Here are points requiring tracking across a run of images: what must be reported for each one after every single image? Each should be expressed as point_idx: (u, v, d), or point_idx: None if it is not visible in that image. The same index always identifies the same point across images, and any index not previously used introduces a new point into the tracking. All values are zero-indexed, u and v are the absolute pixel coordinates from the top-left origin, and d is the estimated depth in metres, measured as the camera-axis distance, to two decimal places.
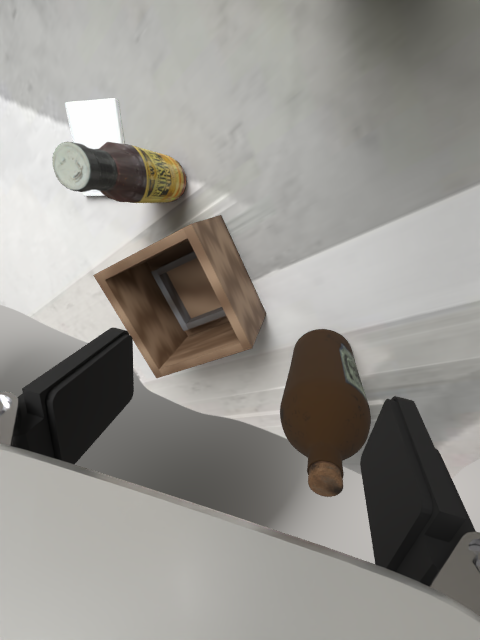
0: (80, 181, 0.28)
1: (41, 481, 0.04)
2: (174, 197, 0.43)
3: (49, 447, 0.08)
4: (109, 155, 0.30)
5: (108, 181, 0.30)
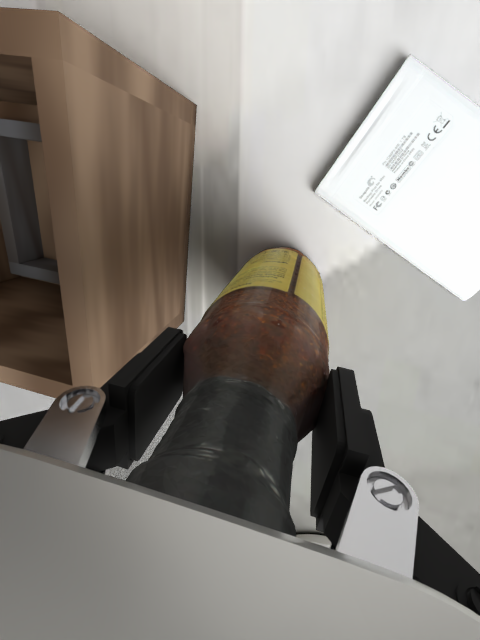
0: None
1: (41, 481, 0.04)
2: None
3: (126, 438, 0.09)
4: None
5: None
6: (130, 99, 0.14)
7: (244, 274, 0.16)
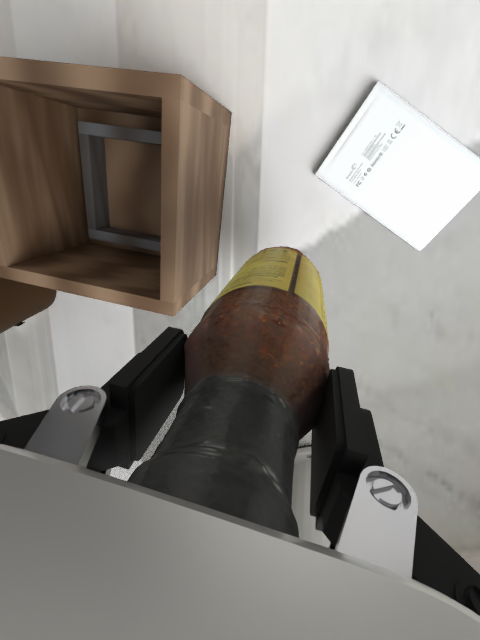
0: None
1: (41, 481, 0.04)
2: None
3: (127, 438, 0.09)
4: None
5: None
6: (202, 115, 0.22)
7: (244, 273, 0.16)
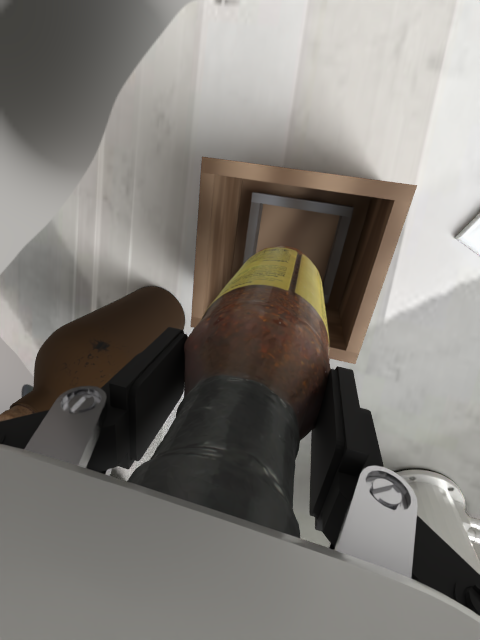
0: None
1: (41, 481, 0.04)
2: None
3: (127, 437, 0.09)
4: None
5: None
6: None
7: (244, 273, 0.16)
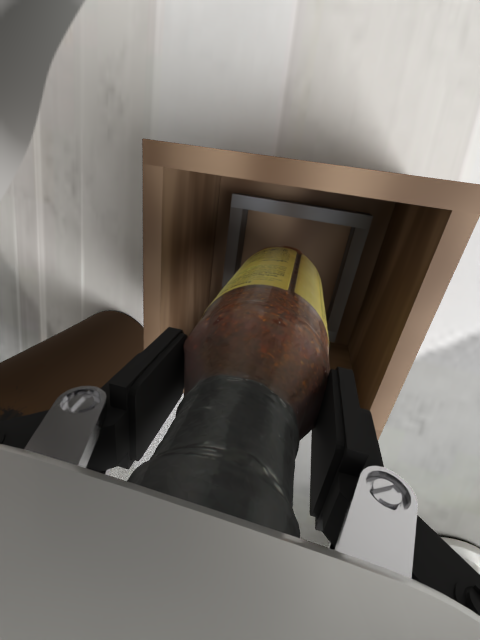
0: None
1: (41, 481, 0.04)
2: None
3: (127, 437, 0.09)
4: None
5: None
6: None
7: (244, 272, 0.16)
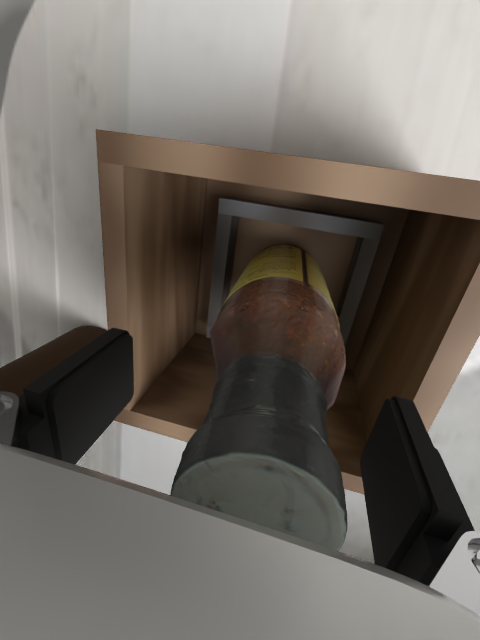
0: None
1: (41, 481, 0.04)
2: None
3: (50, 447, 0.08)
4: None
5: None
6: None
7: (257, 267, 0.17)
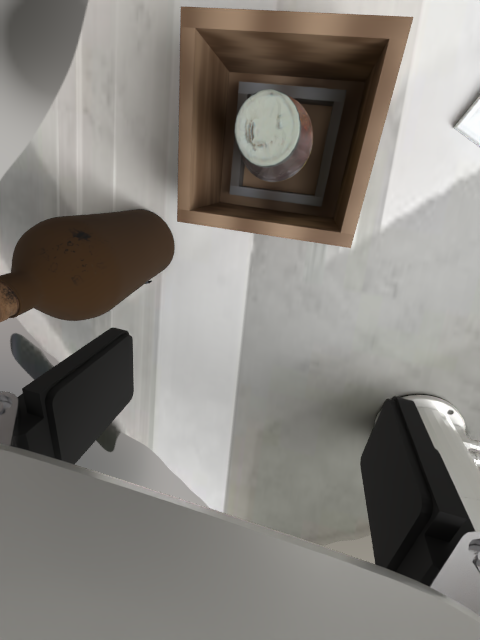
0: (242, 130, 0.18)
1: (41, 481, 0.04)
2: None
3: (49, 447, 0.08)
4: None
5: None
6: None
7: None
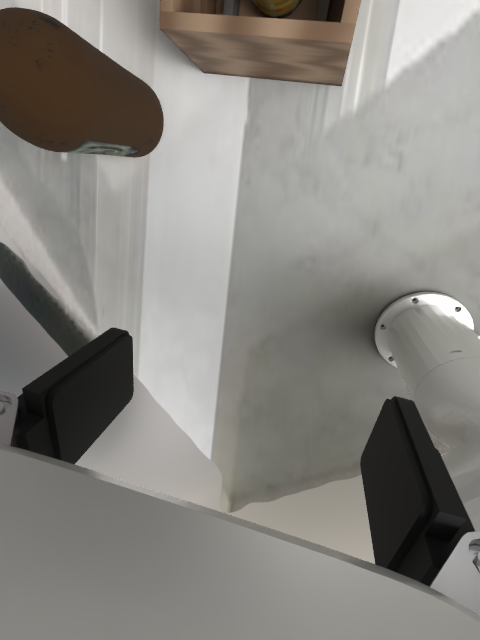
0: None
1: (41, 481, 0.04)
2: None
3: (49, 447, 0.08)
4: None
5: None
6: None
7: None
